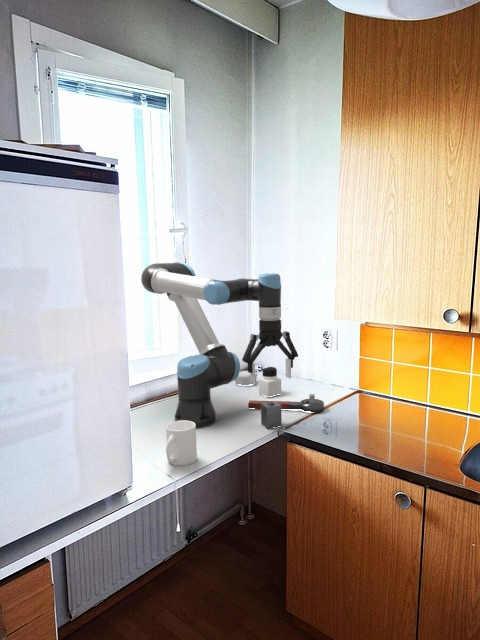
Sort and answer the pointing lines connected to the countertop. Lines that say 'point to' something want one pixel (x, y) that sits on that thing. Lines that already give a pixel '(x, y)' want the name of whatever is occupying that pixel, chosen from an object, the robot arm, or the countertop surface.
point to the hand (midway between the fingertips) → (270, 379)
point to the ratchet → (295, 404)
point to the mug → (181, 442)
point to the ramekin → (244, 378)
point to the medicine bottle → (269, 382)
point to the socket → (271, 414)
